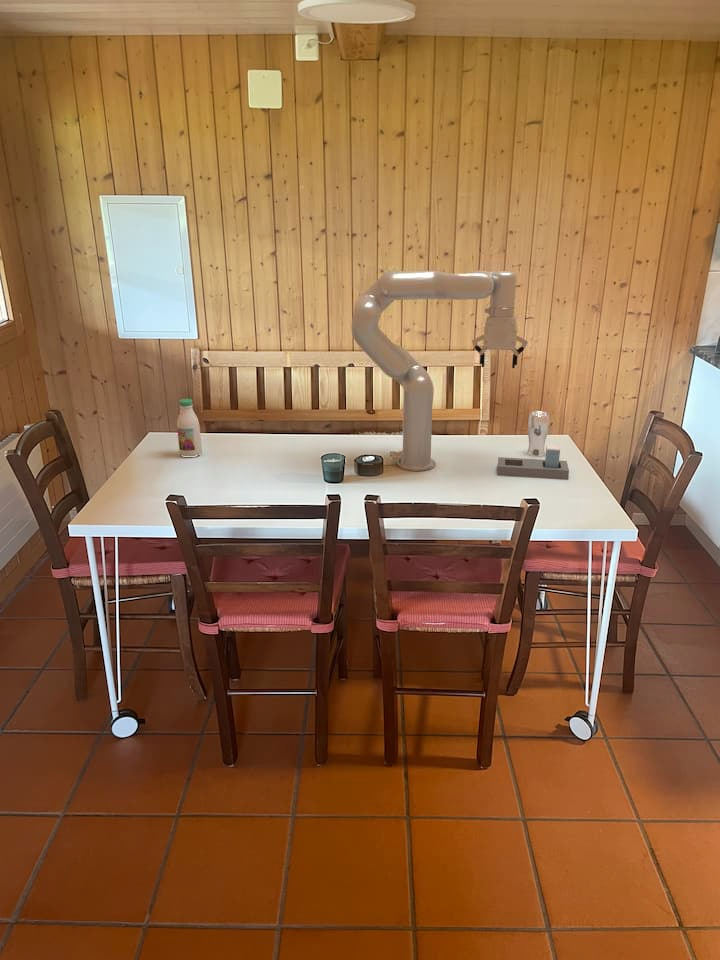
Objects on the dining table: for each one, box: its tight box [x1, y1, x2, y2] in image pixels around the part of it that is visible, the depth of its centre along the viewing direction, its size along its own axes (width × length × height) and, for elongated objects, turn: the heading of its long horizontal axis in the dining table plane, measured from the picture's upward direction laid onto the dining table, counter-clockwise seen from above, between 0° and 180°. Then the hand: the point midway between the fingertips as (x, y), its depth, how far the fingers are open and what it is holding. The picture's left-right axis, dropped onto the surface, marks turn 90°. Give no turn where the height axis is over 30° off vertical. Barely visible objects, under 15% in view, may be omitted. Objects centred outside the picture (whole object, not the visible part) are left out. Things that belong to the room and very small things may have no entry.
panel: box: [496, 456, 570, 480], centre depth 226 cm, size 22×9×4 cm, turn 79°
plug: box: [544, 444, 561, 468], centre depth 224 cm, size 4×4×9 cm
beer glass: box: [526, 410, 550, 458], centre depth 241 cm, size 7×7×15 cm
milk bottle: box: [176, 398, 203, 456], centre depth 243 cm, size 8×8×20 cm
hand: (498, 366), depth 223 cm, fingers open, 9 cm apart
